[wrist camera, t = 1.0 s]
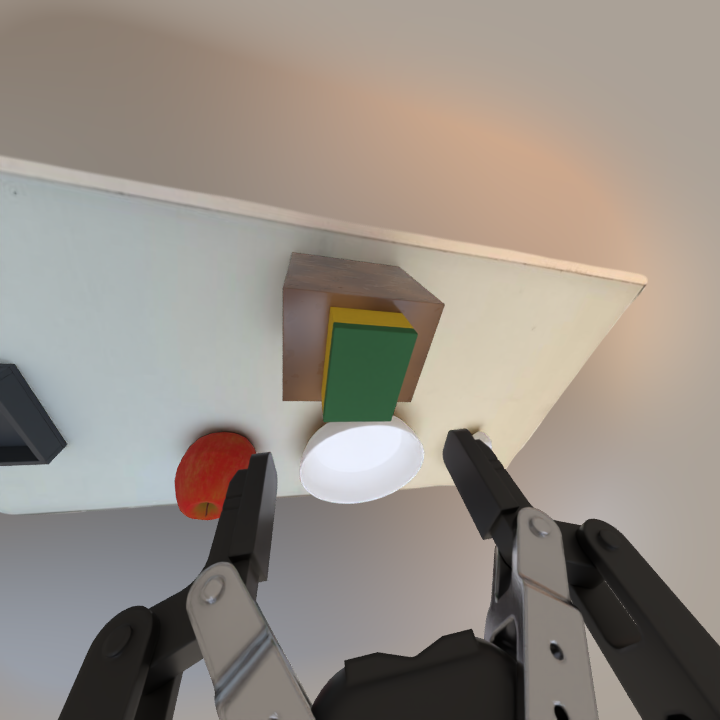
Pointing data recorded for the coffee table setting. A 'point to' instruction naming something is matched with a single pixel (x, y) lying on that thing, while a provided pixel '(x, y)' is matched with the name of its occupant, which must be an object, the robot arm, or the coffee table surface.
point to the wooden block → (346, 290)
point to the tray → (24, 423)
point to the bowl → (360, 460)
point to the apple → (210, 473)
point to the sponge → (365, 364)
